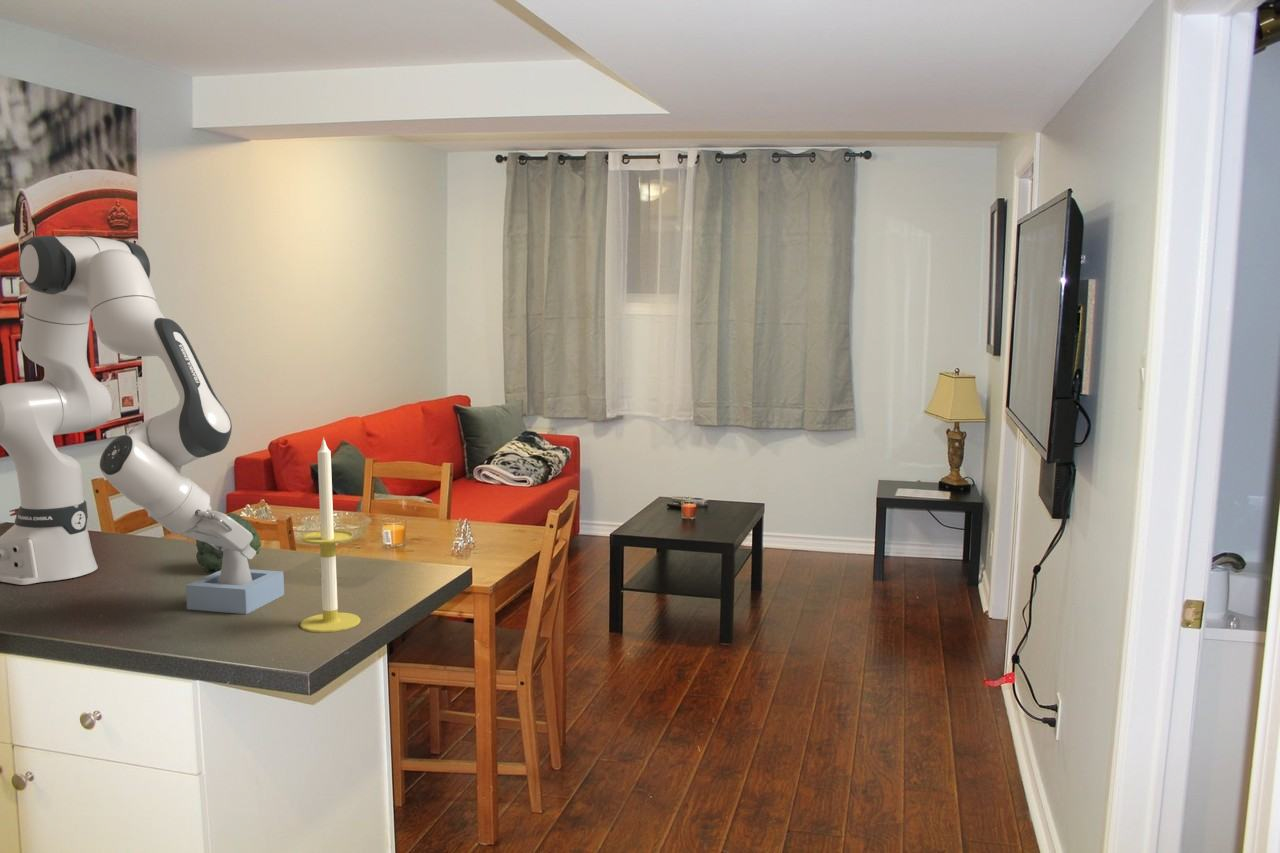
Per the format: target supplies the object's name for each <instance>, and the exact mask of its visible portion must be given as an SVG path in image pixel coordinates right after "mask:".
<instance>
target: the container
mask: <svg viewBox="0 0 1280 853" xmlns="http://www.w3.org/2000/svg"><path fill="white" fill-rule="evenodd" d="M249 569H250V573H251V577H252V580H253V581H251V582H249V583H247V584H244V585H242V586H240V585H227V584H219V582H220V575H221V569H220V570H217V571H216V572H215V571H214V572H212V573H211V574H208V575H206V576H204V577H201V578H199V579H197V580H194V581H192V582H189V583H187V584H185V596H186V610H190V611H191V610H192V611H202V612H203V611H204V612H216V613H228V614H229V613H230V614H241V615H247V614H250V613H252V612H254V611H256V610H257V609H260V608H261V607H263V606H266V605H268V604H269V603H271V602H274V601H276V600H277V599H279V598H281V597H283V596H285V581H284V579H285V578H284V577H285V576H284V571H280V570H279V571H278V570H265V569H251V568H249Z"/></svg>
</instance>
